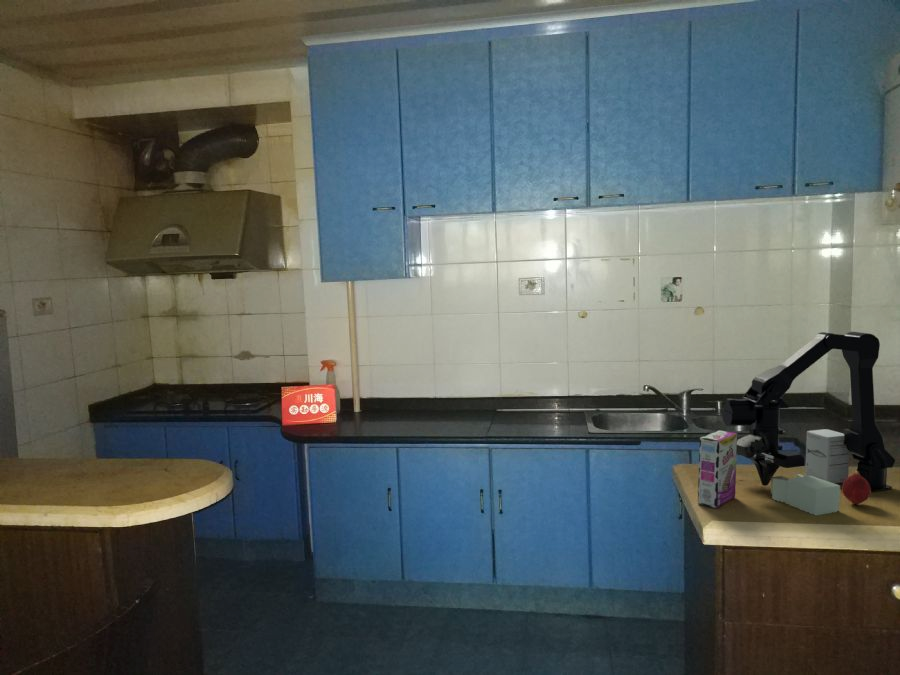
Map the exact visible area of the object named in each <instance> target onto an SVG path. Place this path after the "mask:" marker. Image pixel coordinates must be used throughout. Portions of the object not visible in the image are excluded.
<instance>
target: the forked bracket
mask: <svg viewBox="0 0 900 675" xmlns="http://www.w3.org/2000/svg"><path fill="white" fill-rule="evenodd" d="M840 493H841V485H839V484H838V483H831V482H828V481H825V480H822V479H819V478H816V477H813V476H805V475H803V474H799V473H798V474H796V477H793V478H790V479H788V480H783V479H779V478H773V491H772V497H771V500H772V499H774V500H773V501H775V500H777V501H776V502H779V501H781V502H780V503H783V502H785V503H784V504H787V505H788V504H789V506H791V507H793V506H794V507H793V508H796V507H797V508H796V509H798V508H799V509H798V510H801V511H803V510H804V512H806V513H808V512H809V513H808V514H811V515H813V514H814V515H813V516H821V515H826V514H832V512H833V513H837V511H839V512H840V498H841V496H840V495H841V494H840Z"/></svg>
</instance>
